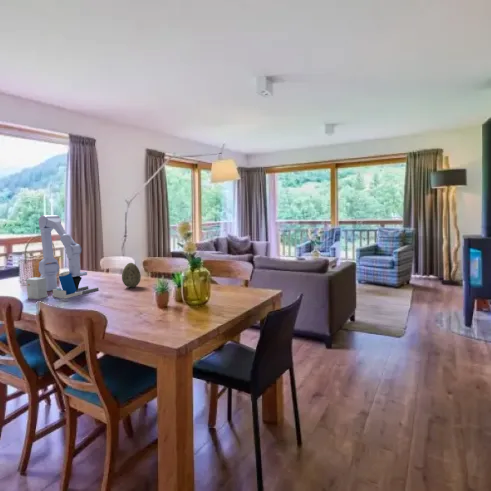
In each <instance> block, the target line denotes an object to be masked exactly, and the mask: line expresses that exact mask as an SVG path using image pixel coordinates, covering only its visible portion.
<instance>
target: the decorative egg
mask: <svg viewBox="0 0 491 491" xmlns="http://www.w3.org/2000/svg"><path fill="white" fill-rule="evenodd" d="M141 275H142V274H141V271H140V269H139V267H138V266H137V265H136V264H135V263H133V262H129V263H127V264H126V265H125V266H124V268H123V270H122V272H121V281H122V283H123V285H124V286H125V287H127V288H131V289H132V288H135V287H137V286H138V285H139V284H140V282H141V278H142V276H141Z"/></svg>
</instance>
